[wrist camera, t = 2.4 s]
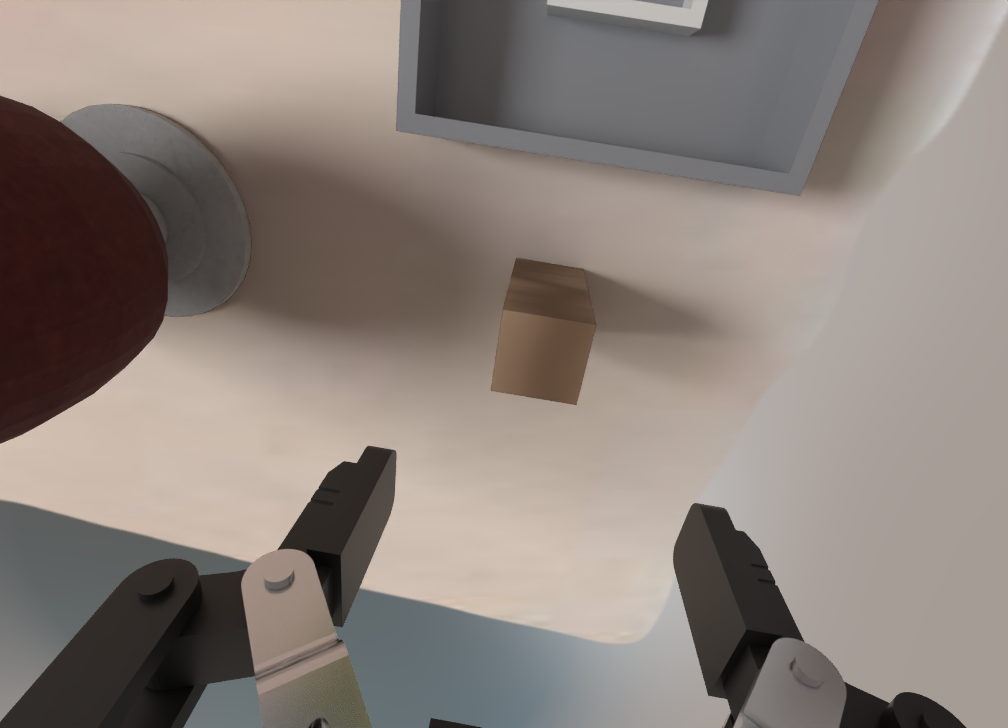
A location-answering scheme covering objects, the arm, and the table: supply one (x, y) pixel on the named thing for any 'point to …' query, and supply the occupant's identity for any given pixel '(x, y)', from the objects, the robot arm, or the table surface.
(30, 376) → the mate gourd
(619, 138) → the grey square tray
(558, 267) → the brown block
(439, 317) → the table surface
